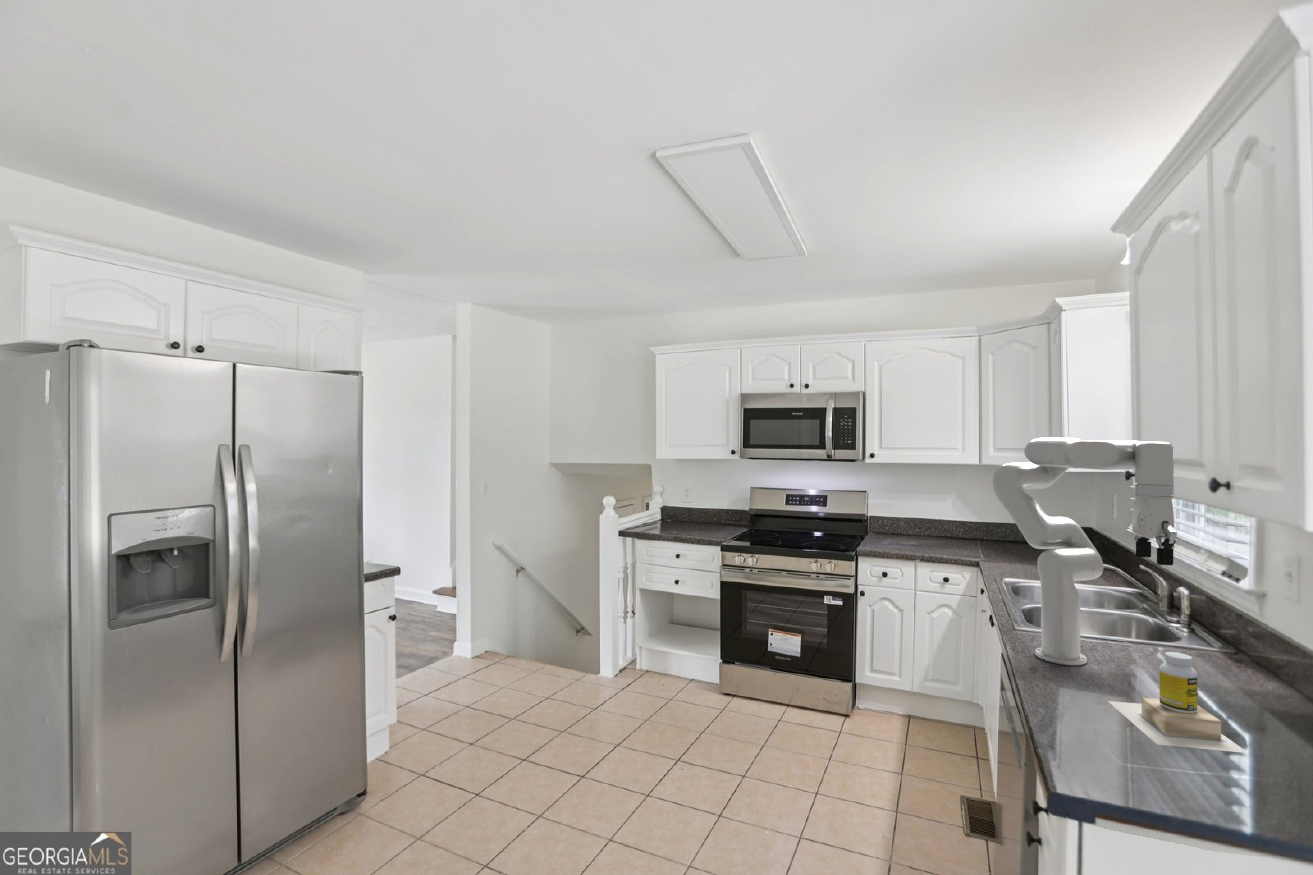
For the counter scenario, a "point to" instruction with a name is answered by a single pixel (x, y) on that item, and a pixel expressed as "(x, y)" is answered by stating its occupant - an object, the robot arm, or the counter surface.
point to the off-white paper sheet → (1135, 716)
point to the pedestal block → (1181, 721)
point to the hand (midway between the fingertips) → (1153, 560)
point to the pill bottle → (1178, 683)
